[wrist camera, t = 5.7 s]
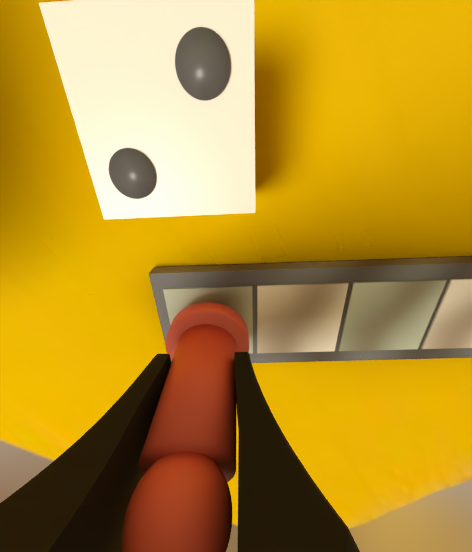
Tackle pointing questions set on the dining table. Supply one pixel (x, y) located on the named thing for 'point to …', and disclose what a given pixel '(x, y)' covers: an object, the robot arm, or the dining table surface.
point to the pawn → (190, 439)
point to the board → (334, 306)
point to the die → (161, 101)
